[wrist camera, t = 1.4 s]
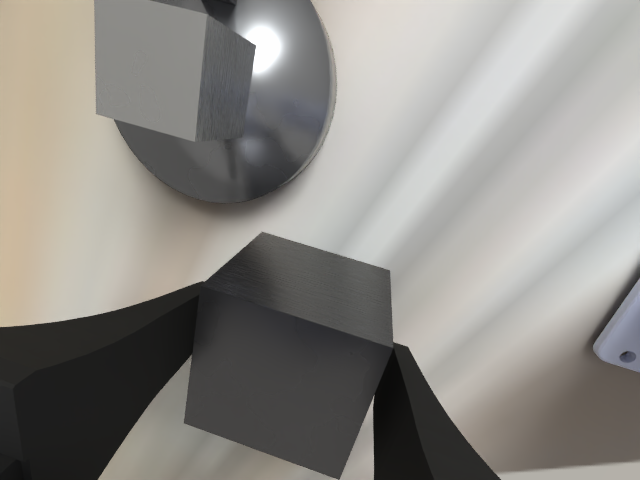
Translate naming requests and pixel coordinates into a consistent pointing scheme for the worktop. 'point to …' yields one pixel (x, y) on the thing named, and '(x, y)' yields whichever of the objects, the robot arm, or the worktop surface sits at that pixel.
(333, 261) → the brushed grey cube
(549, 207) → the worktop surface
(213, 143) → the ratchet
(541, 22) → the worktop surface
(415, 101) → the worktop surface
